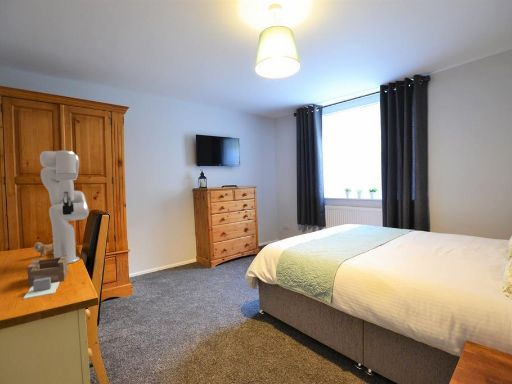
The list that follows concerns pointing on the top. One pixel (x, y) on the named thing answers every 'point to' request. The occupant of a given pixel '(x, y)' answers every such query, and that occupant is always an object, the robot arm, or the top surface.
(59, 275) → the slide box
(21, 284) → the top surface
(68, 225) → the robot arm
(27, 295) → the cover plate
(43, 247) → the lion figurine
